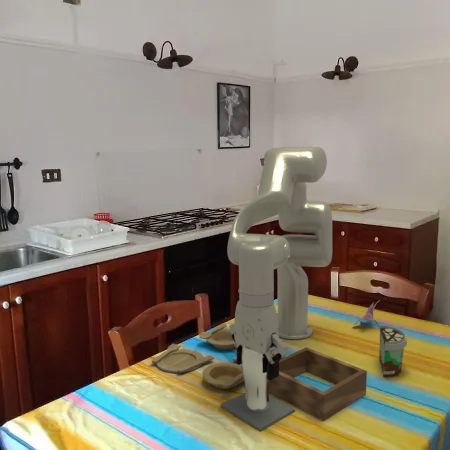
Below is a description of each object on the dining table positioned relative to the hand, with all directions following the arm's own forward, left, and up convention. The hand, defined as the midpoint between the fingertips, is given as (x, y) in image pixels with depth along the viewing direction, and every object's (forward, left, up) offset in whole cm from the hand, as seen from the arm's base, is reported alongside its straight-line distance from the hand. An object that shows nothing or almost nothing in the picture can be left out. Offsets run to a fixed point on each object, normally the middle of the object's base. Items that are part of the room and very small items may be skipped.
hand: (257, 370), depth 108 cm
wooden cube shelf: (+4, +15, -9) cm, 18 cm away
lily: (-10, +61, -10) cm, 62 cm away
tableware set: (-23, +10, -10) cm, 27 cm away
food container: (+11, +40, -10) cm, 42 cm away
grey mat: (0, 0, -9) cm, 9 cm away
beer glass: (0, 0, -9) cm, 9 cm away
